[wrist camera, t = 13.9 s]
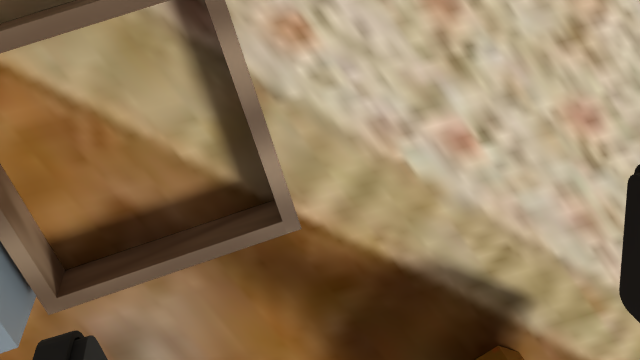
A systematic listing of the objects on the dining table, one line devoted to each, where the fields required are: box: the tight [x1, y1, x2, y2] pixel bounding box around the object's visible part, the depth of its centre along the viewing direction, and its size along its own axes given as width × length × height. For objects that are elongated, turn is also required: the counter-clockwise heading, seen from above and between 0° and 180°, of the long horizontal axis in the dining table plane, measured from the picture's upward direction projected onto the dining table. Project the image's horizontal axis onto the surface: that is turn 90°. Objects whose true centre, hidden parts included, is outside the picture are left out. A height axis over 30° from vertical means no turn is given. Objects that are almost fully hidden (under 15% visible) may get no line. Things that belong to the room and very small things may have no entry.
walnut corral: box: [0, 0, 301, 315], centre depth 35 cm, size 17×17×3 cm
